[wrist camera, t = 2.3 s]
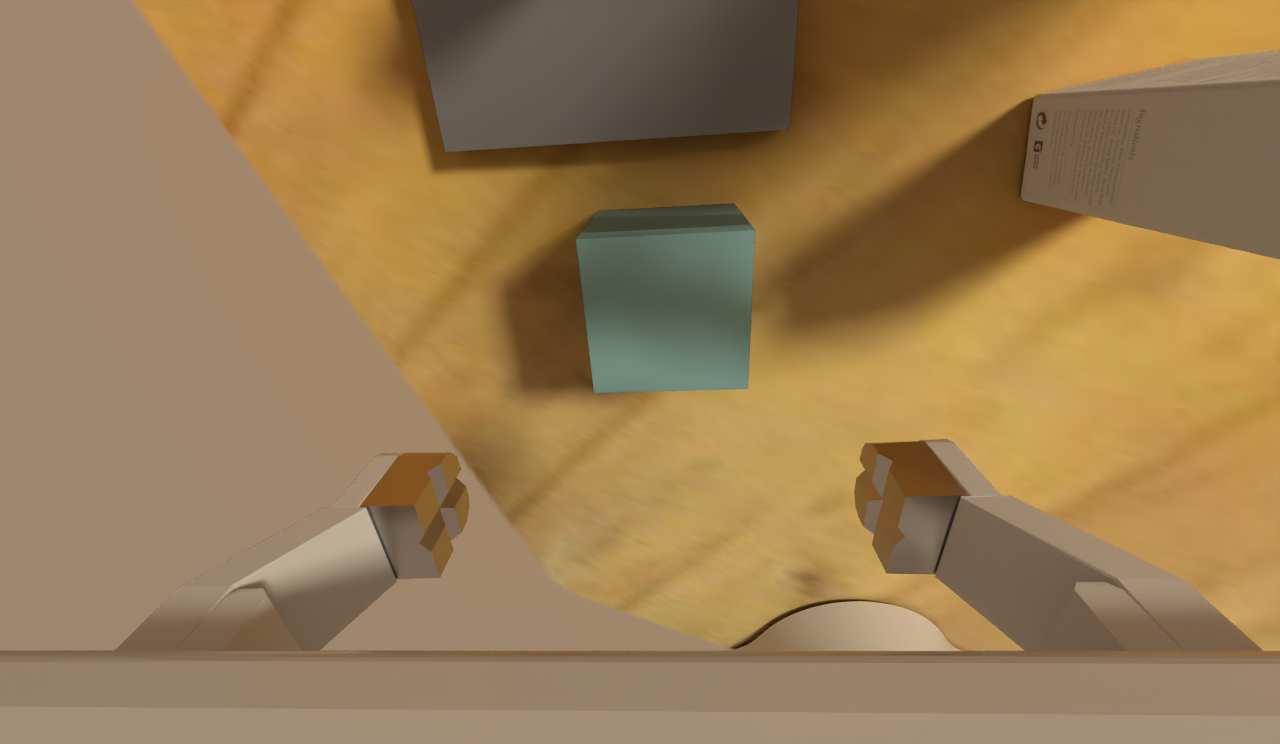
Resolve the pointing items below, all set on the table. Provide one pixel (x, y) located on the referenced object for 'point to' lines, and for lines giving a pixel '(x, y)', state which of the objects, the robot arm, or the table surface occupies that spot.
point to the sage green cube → (668, 298)
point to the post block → (606, 69)
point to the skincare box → (1167, 150)
